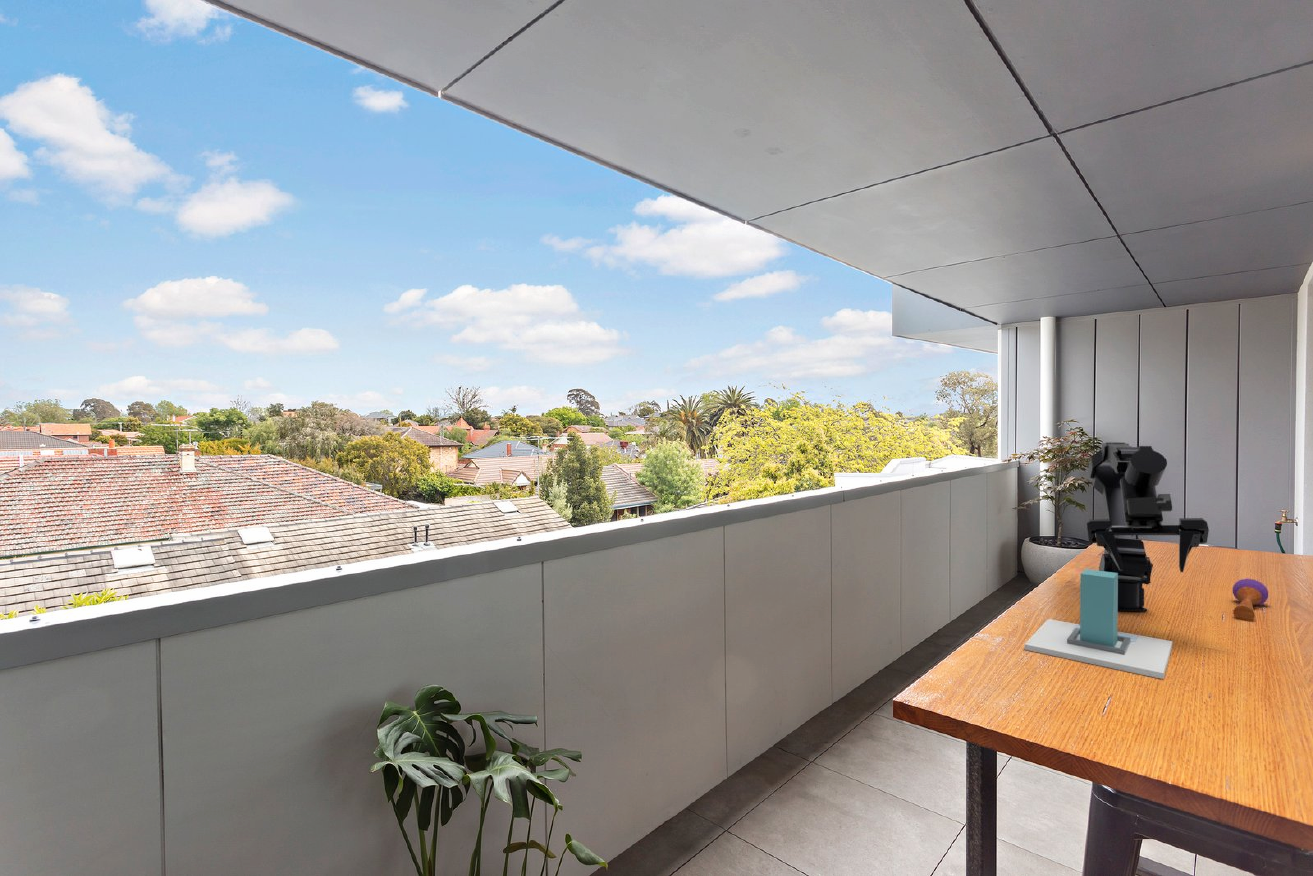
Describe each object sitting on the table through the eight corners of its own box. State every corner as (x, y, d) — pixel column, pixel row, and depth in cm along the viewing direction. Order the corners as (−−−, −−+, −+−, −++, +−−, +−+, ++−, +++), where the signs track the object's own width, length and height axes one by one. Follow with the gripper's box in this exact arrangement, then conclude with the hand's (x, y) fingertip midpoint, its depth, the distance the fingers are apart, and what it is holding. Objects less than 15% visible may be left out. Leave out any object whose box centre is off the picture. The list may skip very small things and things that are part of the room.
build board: (1048, 623, 129) (1048, 615, 129) (1172, 646, 116) (1172, 637, 116) (1024, 649, 115) (1024, 639, 115) (1163, 679, 101) (1163, 668, 101)
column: (1085, 636, 119) (1085, 569, 119) (1117, 642, 115) (1117, 573, 115) (1079, 643, 115) (1080, 573, 115) (1113, 649, 112) (1113, 578, 111)
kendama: (1221, 599, 133) (1231, 576, 147) (1228, 627, 133) (1237, 601, 146) (1259, 599, 129) (1265, 575, 142) (1266, 628, 128) (1272, 601, 142)
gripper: (1082, 481, 127) (1089, 551, 119) (1202, 476, 116) (1219, 552, 108) (1085, 508, 134) (1092, 575, 126) (1198, 506, 123) (1214, 579, 115)
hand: (1150, 570), depth 119 cm, fingers open, 9 cm apart
